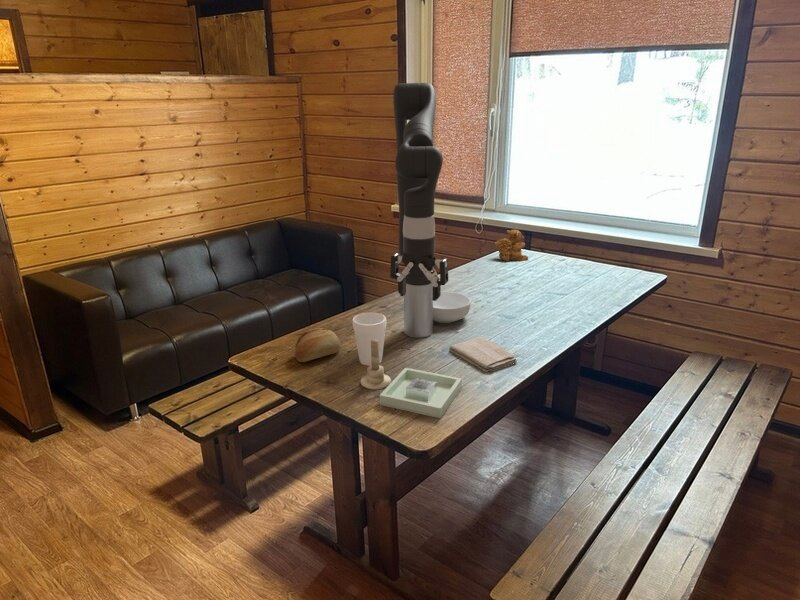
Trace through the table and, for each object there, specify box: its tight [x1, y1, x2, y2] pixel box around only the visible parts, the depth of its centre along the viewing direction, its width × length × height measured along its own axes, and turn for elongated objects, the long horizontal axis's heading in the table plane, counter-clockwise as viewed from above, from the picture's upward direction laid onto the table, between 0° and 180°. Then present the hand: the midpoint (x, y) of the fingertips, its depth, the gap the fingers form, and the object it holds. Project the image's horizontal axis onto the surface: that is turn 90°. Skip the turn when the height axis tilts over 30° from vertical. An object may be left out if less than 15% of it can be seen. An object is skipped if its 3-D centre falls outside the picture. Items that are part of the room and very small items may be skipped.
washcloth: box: [448, 336, 518, 373], centre depth 168 cm, size 12×18×3 cm, turn 34°
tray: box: [379, 367, 463, 419], centre depth 147 cm, size 16×16×3 cm
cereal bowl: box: [433, 291, 472, 324], centre depth 195 cm, size 17×17×7 cm
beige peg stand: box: [360, 340, 392, 391], centre depth 153 cm, size 8×8×12 cm
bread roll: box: [294, 327, 342, 363], centre depth 169 cm, size 10×15×8 cm, turn 133°
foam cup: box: [352, 312, 388, 367], centre depth 164 cm, size 10×9×13 cm
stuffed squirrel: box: [494, 229, 529, 262], centre depth 259 cm, size 10×14×13 cm
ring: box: [406, 378, 437, 402], centre depth 147 cm, size 6×6×2 cm
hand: (419, 297), depth 143 cm, fingers open, 8 cm apart
